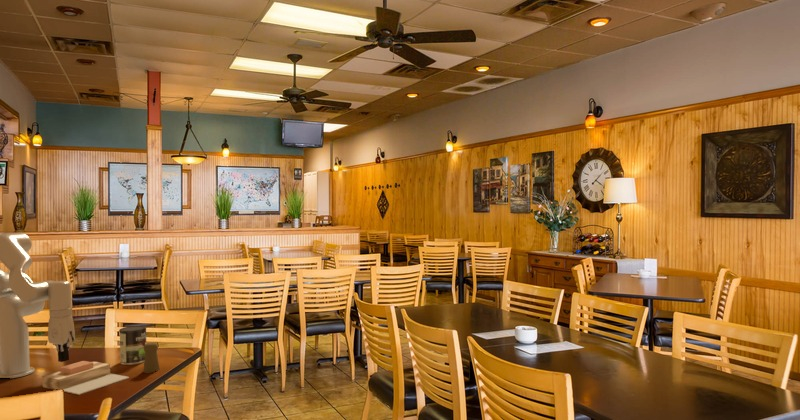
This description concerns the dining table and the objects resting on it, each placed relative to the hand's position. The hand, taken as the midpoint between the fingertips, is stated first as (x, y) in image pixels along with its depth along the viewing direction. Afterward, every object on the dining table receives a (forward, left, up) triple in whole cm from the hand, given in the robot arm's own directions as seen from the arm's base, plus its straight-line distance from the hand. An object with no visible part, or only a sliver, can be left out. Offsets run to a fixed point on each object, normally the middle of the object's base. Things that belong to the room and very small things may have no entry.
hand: (63, 360), depth 214 cm
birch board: (+8, 0, -7) cm, 11 cm away
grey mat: (+19, 0, -7) cm, 20 cm away
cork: (+24, +20, -7) cm, 32 cm away
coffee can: (+6, +26, -7) cm, 27 cm away
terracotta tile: (+8, 0, -3) cm, 9 cm away
